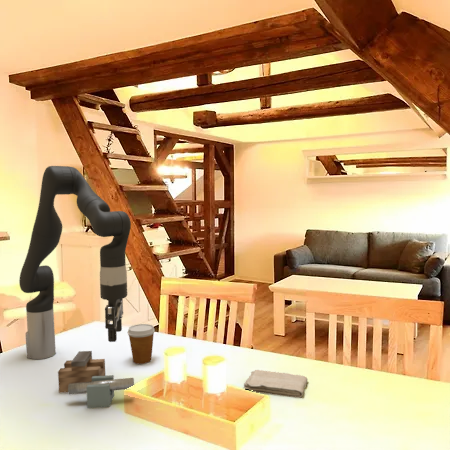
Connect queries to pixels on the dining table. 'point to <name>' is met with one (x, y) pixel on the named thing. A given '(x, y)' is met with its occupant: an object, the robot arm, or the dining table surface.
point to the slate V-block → (99, 393)
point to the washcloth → (276, 383)
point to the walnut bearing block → (80, 370)
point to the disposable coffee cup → (141, 342)
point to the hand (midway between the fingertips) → (115, 336)
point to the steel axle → (114, 384)
